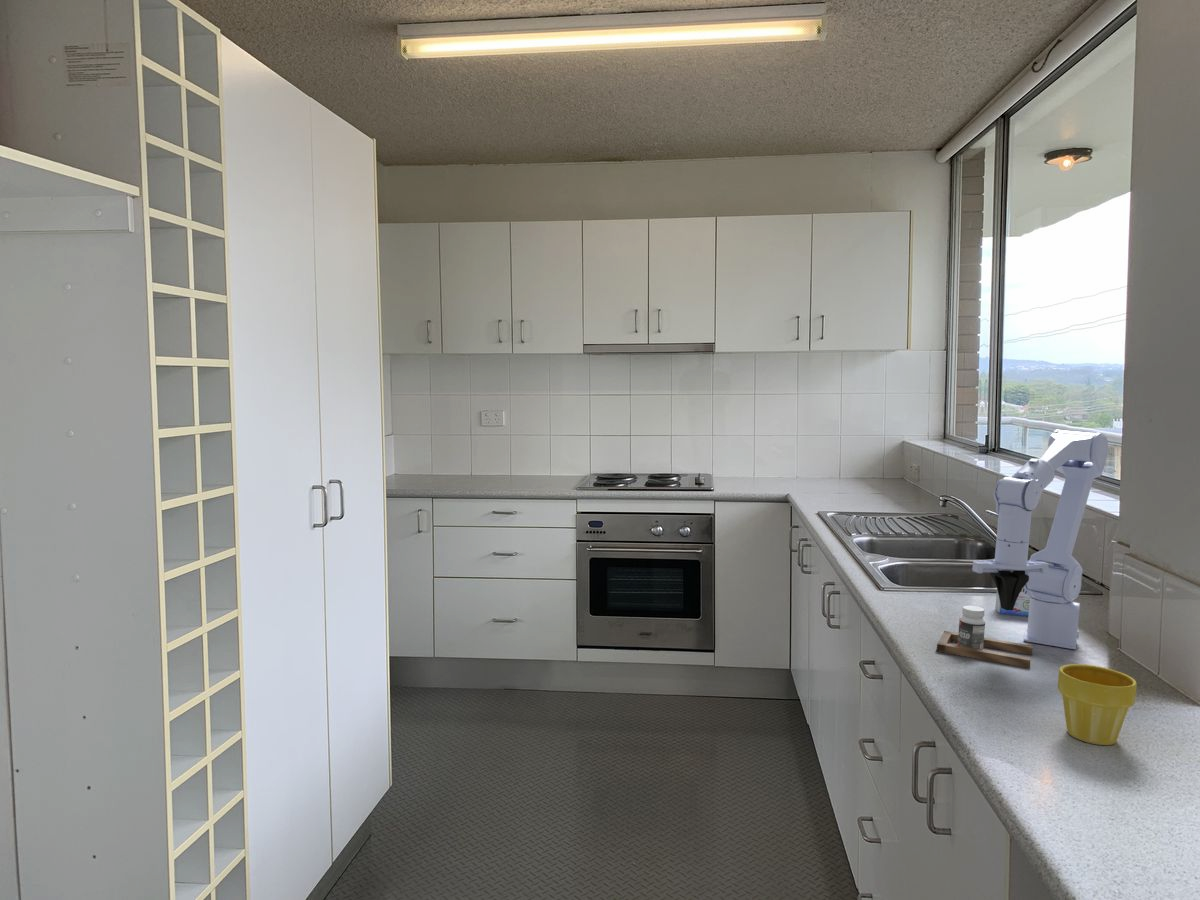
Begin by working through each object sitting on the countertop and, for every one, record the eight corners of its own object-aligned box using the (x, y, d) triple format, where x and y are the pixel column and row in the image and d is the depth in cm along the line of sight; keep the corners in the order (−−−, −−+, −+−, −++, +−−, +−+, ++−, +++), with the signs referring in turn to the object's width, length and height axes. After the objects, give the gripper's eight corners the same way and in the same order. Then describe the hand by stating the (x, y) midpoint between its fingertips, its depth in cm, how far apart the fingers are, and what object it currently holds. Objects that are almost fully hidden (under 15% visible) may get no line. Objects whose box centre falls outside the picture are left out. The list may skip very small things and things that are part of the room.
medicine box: (998, 614, 202) (1001, 576, 201) (994, 608, 206) (997, 572, 205) (1035, 617, 200) (1039, 580, 199) (1031, 612, 204) (1034, 575, 203)
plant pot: (1086, 719, 142) (1092, 660, 141) (1146, 746, 133) (1153, 683, 132) (1038, 726, 138) (1043, 666, 137) (1096, 755, 129) (1102, 690, 128)
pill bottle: (952, 645, 177) (955, 605, 176) (972, 644, 178) (976, 604, 177) (966, 653, 173) (970, 612, 172) (988, 652, 174) (991, 611, 173)
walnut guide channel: (1032, 653, 174) (1033, 645, 174) (1029, 668, 165) (1030, 660, 165) (943, 637, 182) (944, 630, 182) (936, 651, 173) (937, 643, 173)
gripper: (1034, 535, 175) (1028, 602, 176) (966, 535, 173) (960, 603, 174) (1057, 543, 168) (1051, 613, 169) (986, 543, 166) (980, 613, 167)
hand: (1006, 608), depth 171 cm, fingers closed
